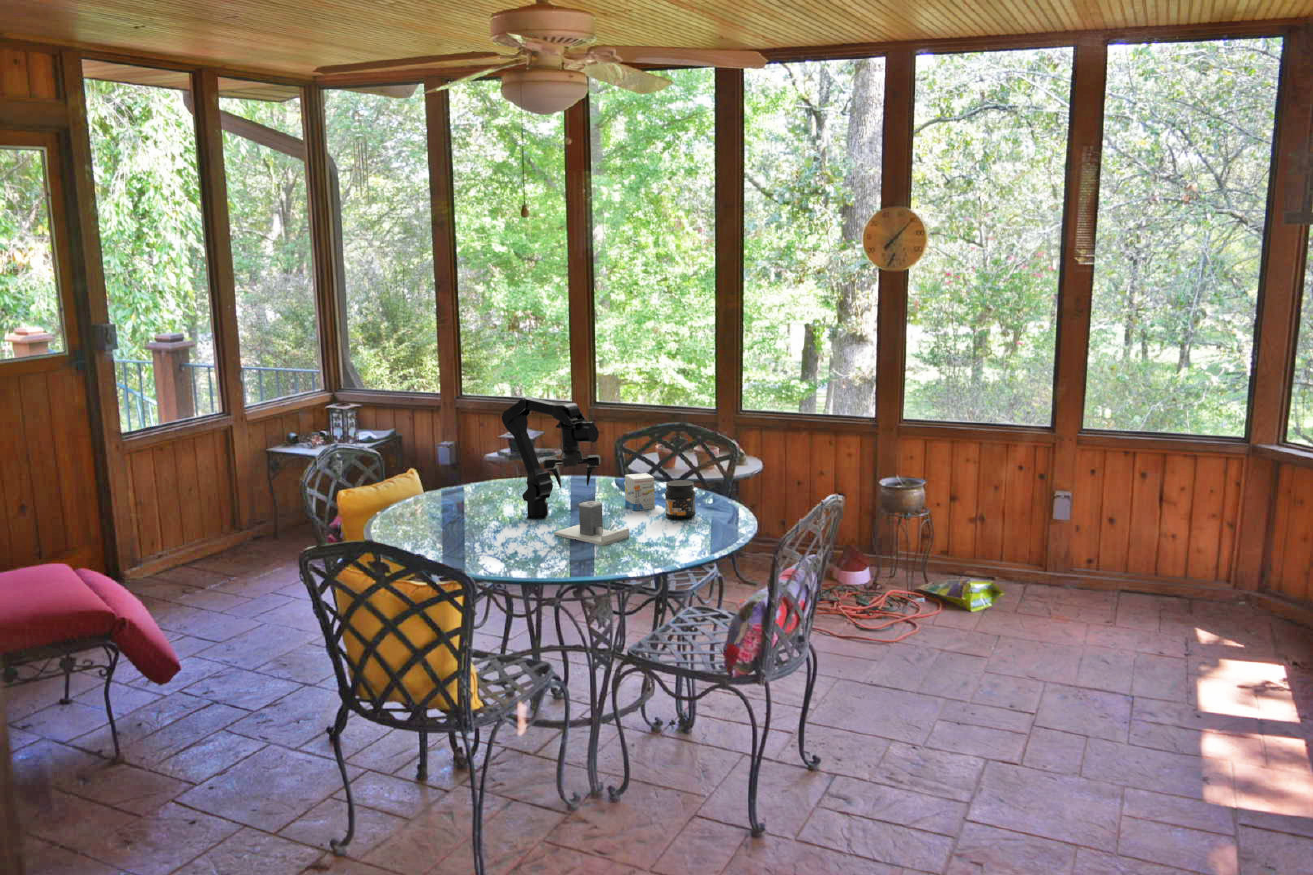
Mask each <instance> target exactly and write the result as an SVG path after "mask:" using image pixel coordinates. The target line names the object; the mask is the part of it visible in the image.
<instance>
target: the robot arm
mask: <svg viewBox="0 0 1313 875" xmlns="http://www.w3.org/2000/svg"><path fill="white" fill-rule="evenodd" d="M502 412H503V413H502V416H501V422H502V423H503V426H504V427H505V429H506V430H507V431H508V432H509V433H510V434H511V435H512V436H513V438H514V442H515V444H516V446H517V449H518V452H519V455H520V457H521V460H522V462H523V466H524V468H525V471H526V473H527V477H526V485H527V489H526V490H525V491H524V492H523V493H522V500H523V501H524V502H526V503H527V516H526V519H546V518H547V517H548V515H549V503H548V502H547V499H549V498H550V497H551V494H552V492H553V487H554V485H553V483H554V481H553V479H552V478H551V477H552V476H551V473H552V474H553V476H554V477H555V479H556V482H557V484H558V486H559V488H562V479H561V472H560V467H559V466H562V467H563V468H568V467H574V468H575V467H577V466H578V465H582V464H587V466H586V486H587V487H589V484H590V480H591V475H592V472H593V470H594V469H596V468H597V467H598V466H600V464H601V463H602V462H601V460H602V459H601V456H600V455H599V454H588V455H587V457H584V455H583V451H582V450H580V449H581V448H580V443H594V444H595V443H596V442H597V441H598V439H599V436H600V433H599V432H600V430H598V428H597V427H598V426H596V425H595V422H594V421H587V418H586V417H585V416H584V414H583V413H582V410H580V407H579V405H578V404H577V403H575V402H566V403H563V402H561V403H557V402H552V401H547V400H543V399H538V398H534V397H532V396H527V397H522V398H520V399H519V401H518V402H516V403H515V404H513V405H512V406H510V407H509V408H508V409H506V410H504V411H502ZM531 412H535V413H540V414H544V415H548V416H551V417H553V418H554V419H555V420H556V421H558V423H557V424H556V426H555V428H556V429H560V431H561V432H560V435H561V445H562V446H561V447H562V452H561V459H558V457H556V456H551V457H546V458H545V459H544V460H543V469H545V470H546V469H547V470H548V471H544V470H543V469H542V468H541V465H540V462H539V460H538V457H537V454H536V452H535V450H534V447H533V444H532V442H531V437H530V436H529V435H530V434H529V433H528V425H529V422H528V420H529V419H528V416H530V415H531ZM550 472H551V473H550Z"/></svg>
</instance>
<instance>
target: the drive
mask: <svg viewBox="0 0 1313 875" xmlns="http://www.w3.org/2000/svg"><path fill="white" fill-rule="evenodd" d="M578 510H579V511H578V513H579V516H578V517H579V524H580V534H583V535H588V536H594V535H597V534H598V527H602V533H603V529H604V526H603V525H604V524H603V523H604V522H603V502H600V501H597V500H596V501H594V500H588V501H584V502H581V503H580V502H579V503H578Z"/></svg>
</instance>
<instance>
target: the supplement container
mask: <svg viewBox="0 0 1313 875" xmlns="http://www.w3.org/2000/svg"><path fill="white" fill-rule="evenodd" d="M665 486H666V487H665V488H666V490H665V492H664V496H665V500H664V501H665V502H664V504H665V512H664V514H665V516H666V517H667V518H668V519H670V520H674V519H675V520H676V521H684V520H685V519H686V520H690V519H692V518H694V517H695V516H696V515H697V513H696V491H695V490H694V489H695V483H694V481H691V480H685V479H678V480H677V479H675V480H670V481H666V485H665ZM686 520H685V521H686Z"/></svg>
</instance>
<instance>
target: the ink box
mask: <svg viewBox="0 0 1313 875" xmlns="http://www.w3.org/2000/svg"><path fill="white" fill-rule="evenodd" d="M655 489H656V488H655V476H653V475H651V474H650V473H648V472H645V473H643V472H642V473H631V474H624V504H625V505H624V507H626V508H627V509H629V510H631V511H633V512H636V511H643V509H645V510H652V509H656V498H655Z"/></svg>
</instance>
